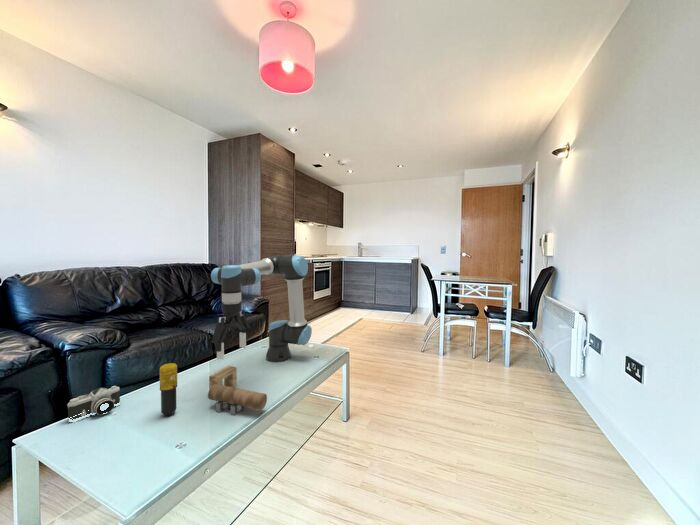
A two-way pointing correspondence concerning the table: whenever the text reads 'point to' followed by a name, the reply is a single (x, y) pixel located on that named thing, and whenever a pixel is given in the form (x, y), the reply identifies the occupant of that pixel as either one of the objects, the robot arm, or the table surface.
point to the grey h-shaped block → (228, 408)
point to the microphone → (168, 388)
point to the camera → (94, 402)
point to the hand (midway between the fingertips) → (232, 352)
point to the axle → (237, 396)
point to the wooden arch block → (224, 377)
